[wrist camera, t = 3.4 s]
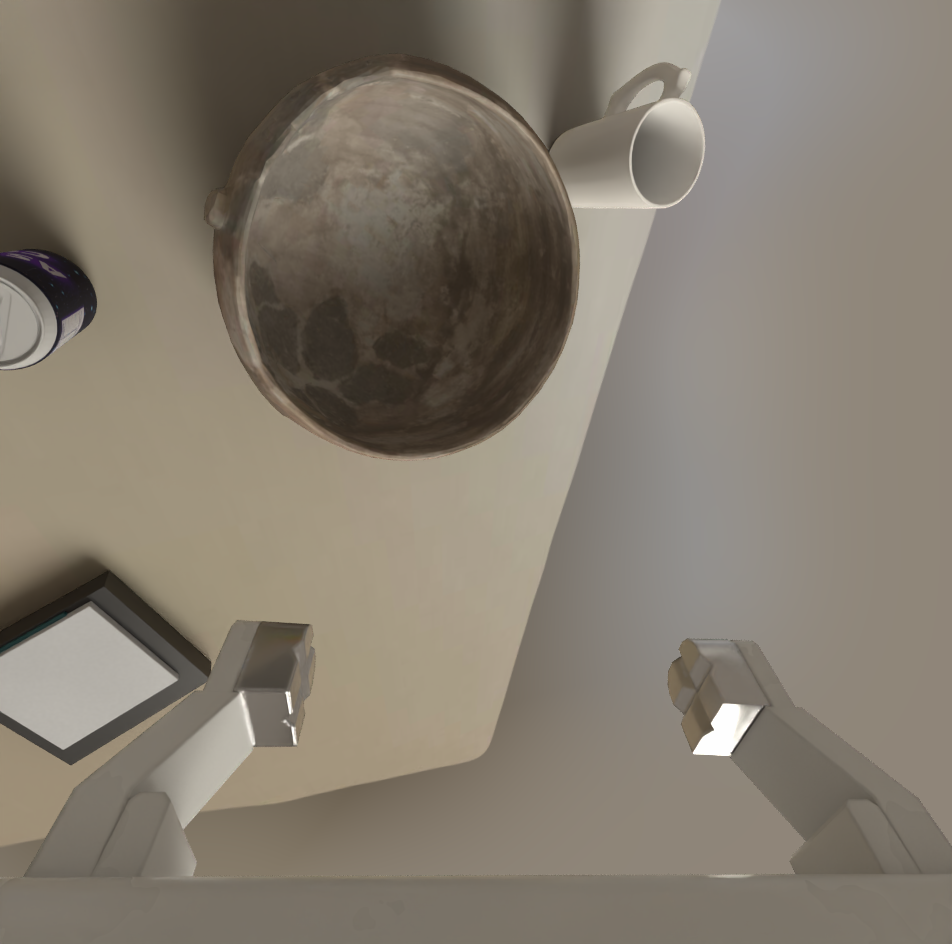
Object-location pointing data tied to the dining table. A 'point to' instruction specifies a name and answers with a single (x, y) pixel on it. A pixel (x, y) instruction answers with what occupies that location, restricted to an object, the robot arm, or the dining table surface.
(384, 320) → the bowl
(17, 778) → the dining table surface
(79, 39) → the dining table surface
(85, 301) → the beverage can
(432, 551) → the dining table surface
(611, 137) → the mug
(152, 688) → the scale
